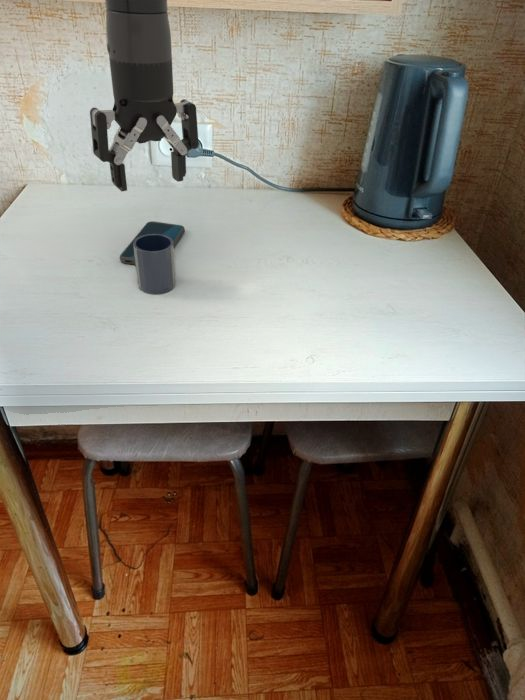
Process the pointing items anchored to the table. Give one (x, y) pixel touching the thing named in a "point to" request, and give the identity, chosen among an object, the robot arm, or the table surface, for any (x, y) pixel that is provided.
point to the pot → (154, 263)
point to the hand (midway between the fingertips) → (150, 184)
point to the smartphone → (153, 228)
